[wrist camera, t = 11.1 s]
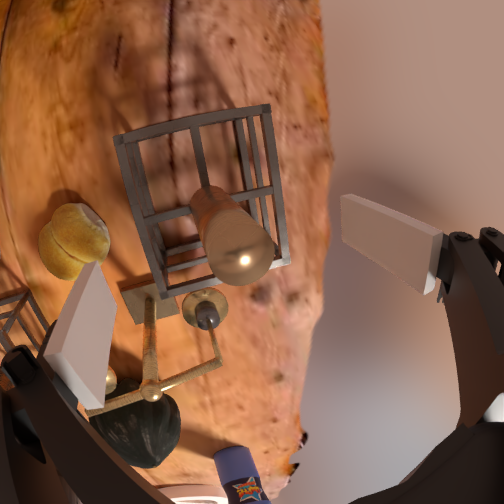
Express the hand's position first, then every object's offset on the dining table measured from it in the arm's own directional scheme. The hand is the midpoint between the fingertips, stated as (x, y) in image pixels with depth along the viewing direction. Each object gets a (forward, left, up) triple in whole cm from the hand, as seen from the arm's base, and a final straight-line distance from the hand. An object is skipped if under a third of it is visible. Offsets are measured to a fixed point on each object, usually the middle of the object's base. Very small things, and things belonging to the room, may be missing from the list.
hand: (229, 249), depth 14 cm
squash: (-19, -29, -18) cm, 39 cm away
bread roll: (-15, -2, -18) cm, 23 cm away
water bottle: (-9, -61, -18) cm, 64 cm away
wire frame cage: (0, 0, -17) cm, 18 cm away
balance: (-9, -12, -17) cm, 23 cm away
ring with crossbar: (-32, -92, -18) cm, 99 cm away
